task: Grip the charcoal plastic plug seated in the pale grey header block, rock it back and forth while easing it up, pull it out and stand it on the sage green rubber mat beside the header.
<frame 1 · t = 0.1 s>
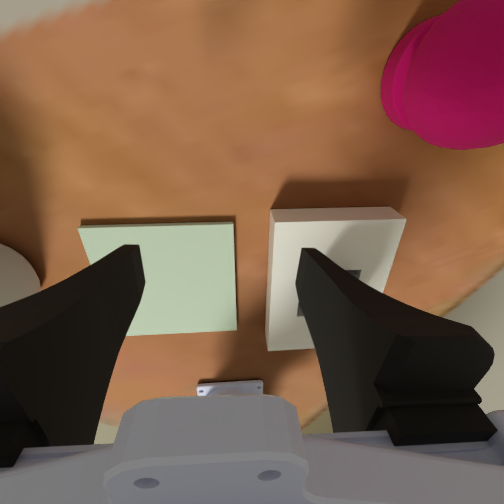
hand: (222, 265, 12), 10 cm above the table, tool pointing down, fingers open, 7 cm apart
header: (319, 277, 26), on the table
mat: (169, 283, 25), on the table
pepper mill: (424, 77, 18), on the table
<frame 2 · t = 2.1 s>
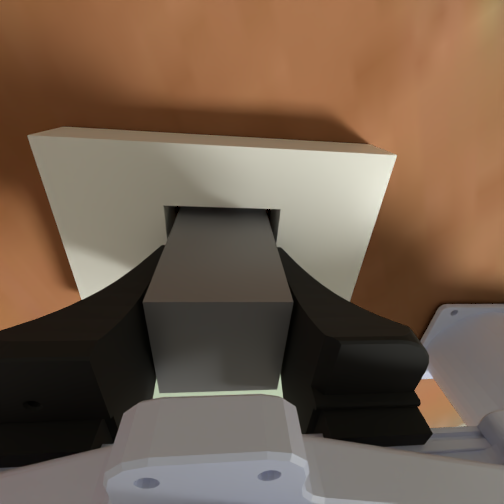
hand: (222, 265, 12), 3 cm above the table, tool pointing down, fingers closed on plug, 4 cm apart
header: (223, 232, 15), on the table
plug: (223, 232, 15), resting in header, touching gripper
mat: (221, 386, 22), on the table
when the fingers open (5 cm above the table, at t = 7.2 s): plug drops 1 cm, resting on mat.
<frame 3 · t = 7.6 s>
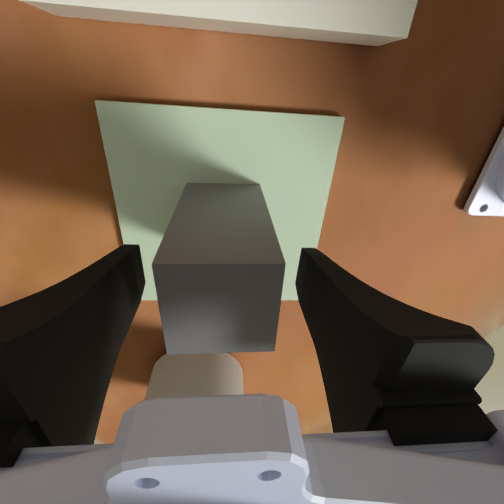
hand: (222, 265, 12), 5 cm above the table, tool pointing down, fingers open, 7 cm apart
plug: (224, 217, 16), resting on mat
mat: (224, 219, 17), on the table
can: (199, 364, 24), on the table
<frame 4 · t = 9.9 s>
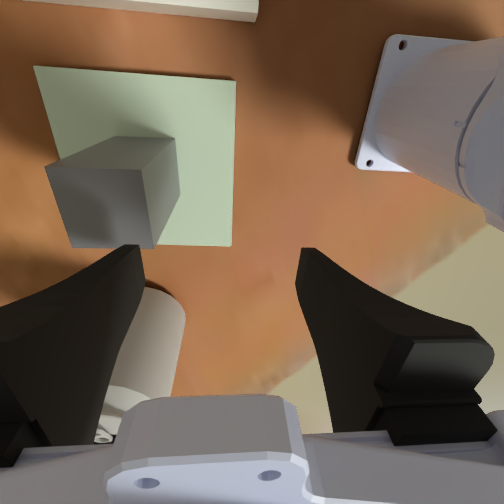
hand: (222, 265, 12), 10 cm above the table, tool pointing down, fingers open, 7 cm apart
plug: (149, 167, 20), resting on mat
mat: (151, 170, 20), on the table
can: (149, 309, 27), on the table
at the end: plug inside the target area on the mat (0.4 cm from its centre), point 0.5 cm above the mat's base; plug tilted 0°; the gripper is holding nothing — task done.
